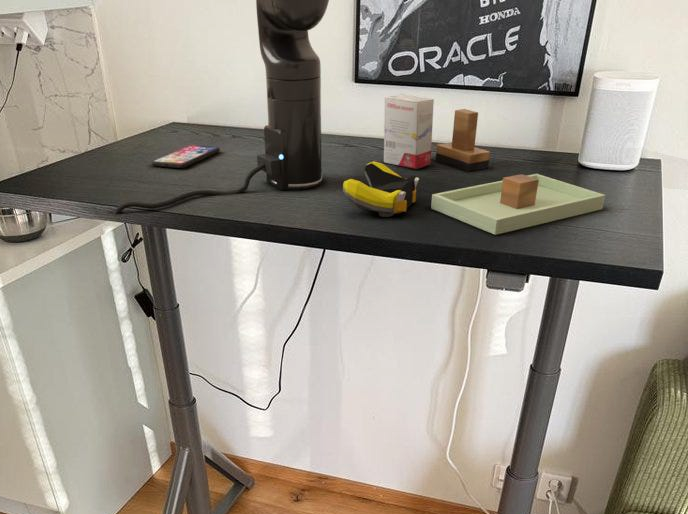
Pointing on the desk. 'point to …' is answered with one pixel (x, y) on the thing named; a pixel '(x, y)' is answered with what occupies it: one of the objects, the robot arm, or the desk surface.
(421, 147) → the ink box
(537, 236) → the desk surface
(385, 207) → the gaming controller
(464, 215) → the tray
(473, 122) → the brush
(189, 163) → the smartphone
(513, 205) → the wooden block
